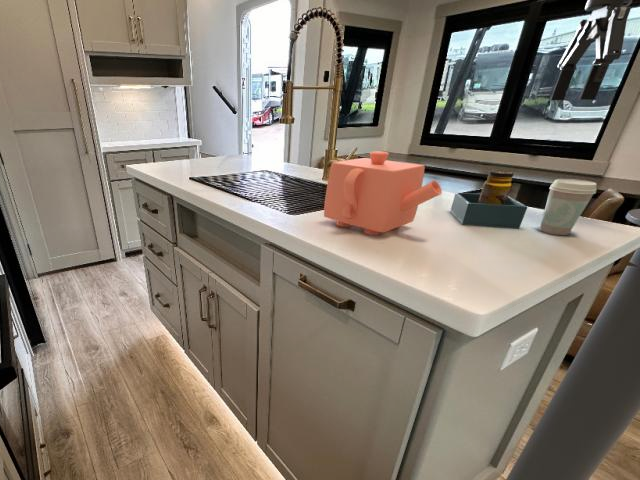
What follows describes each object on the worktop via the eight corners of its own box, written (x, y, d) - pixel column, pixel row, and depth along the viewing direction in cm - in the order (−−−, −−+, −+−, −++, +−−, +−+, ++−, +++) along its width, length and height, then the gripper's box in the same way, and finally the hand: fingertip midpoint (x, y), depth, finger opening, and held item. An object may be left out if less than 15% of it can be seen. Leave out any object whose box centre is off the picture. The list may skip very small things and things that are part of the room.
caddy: (500, 215, 102) (507, 195, 100) (519, 228, 91) (527, 206, 88) (449, 211, 105) (455, 192, 103) (461, 224, 94) (468, 203, 91)
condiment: (505, 222, 94) (522, 174, 88) (470, 220, 96) (485, 173, 90) (494, 214, 100) (509, 169, 95) (461, 213, 102) (474, 168, 96)
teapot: (449, 231, 89) (471, 154, 80) (402, 252, 76) (423, 164, 68) (361, 211, 106) (372, 145, 97) (311, 225, 93) (319, 151, 84)
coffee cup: (524, 227, 92) (543, 178, 86) (552, 225, 93) (572, 177, 88) (555, 238, 85) (578, 186, 79) (585, 236, 86) (610, 184, 80)
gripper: (564, 0, 87) (530, 100, 97) (633, -33, 66) (580, 99, 76) (601, -2, 85) (562, 100, 96) (684, -37, 64) (623, 99, 74)
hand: (570, 100), depth 86 cm, fingers open, 13 cm apart
